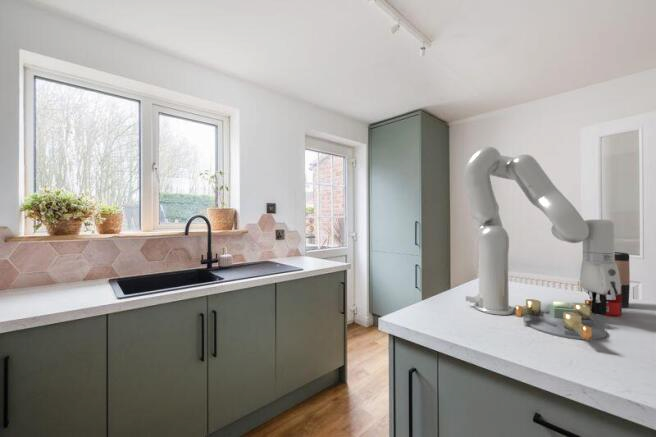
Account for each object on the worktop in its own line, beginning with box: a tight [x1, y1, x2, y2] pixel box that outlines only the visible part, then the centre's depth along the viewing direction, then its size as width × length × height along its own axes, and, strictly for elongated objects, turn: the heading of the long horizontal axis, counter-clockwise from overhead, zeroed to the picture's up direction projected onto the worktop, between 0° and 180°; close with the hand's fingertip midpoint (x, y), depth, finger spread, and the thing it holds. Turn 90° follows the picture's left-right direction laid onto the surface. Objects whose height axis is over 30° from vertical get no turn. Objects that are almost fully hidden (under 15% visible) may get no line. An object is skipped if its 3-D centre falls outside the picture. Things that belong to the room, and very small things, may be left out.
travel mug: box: [614, 251, 631, 309], centre depth 108 cm, size 8×8×20 cm
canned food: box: [589, 283, 623, 318], centre depth 100 cm, size 8×8×11 cm
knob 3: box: [563, 312, 593, 341], centre depth 79 cm, size 12×4×4 cm, turn 159°
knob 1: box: [515, 298, 542, 318], centre depth 93 cm, size 12×4×4 cm, turn 119°
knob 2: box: [573, 299, 592, 320], centre depth 93 cm, size 12×4×4 cm, turn 127°
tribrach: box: [522, 301, 607, 341], centre depth 89 cm, size 20×20×8 cm
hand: (598, 313), depth 92 cm, fingers closed
